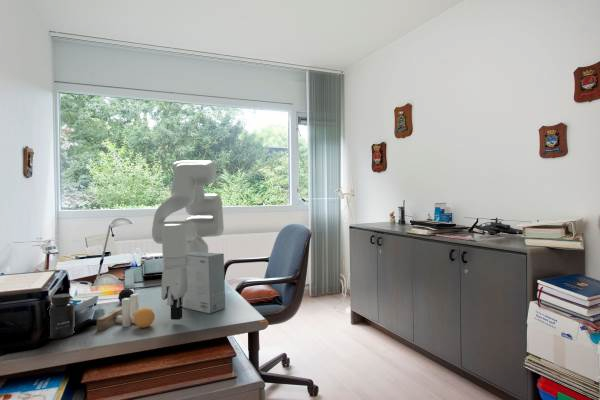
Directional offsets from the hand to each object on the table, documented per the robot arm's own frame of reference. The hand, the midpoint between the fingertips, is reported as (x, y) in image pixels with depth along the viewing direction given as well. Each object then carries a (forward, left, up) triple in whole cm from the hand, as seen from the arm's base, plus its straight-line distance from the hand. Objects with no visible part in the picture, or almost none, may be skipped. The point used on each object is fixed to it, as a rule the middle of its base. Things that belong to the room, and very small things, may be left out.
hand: (176, 318), depth 120 cm
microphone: (-29, -33, -2) cm, 44 cm away
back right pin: (-2, -15, -2) cm, 16 cm away
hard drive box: (-16, +3, -2) cm, 16 cm away
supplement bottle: (+11, -31, -2) cm, 33 cm away
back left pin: (+2, -15, -2) cm, 16 cm away
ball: (+4, -9, +2) cm, 10 cm away
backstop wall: (0, -21, -2) cm, 22 cm away
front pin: (0, -12, 0) cm, 12 cm away
